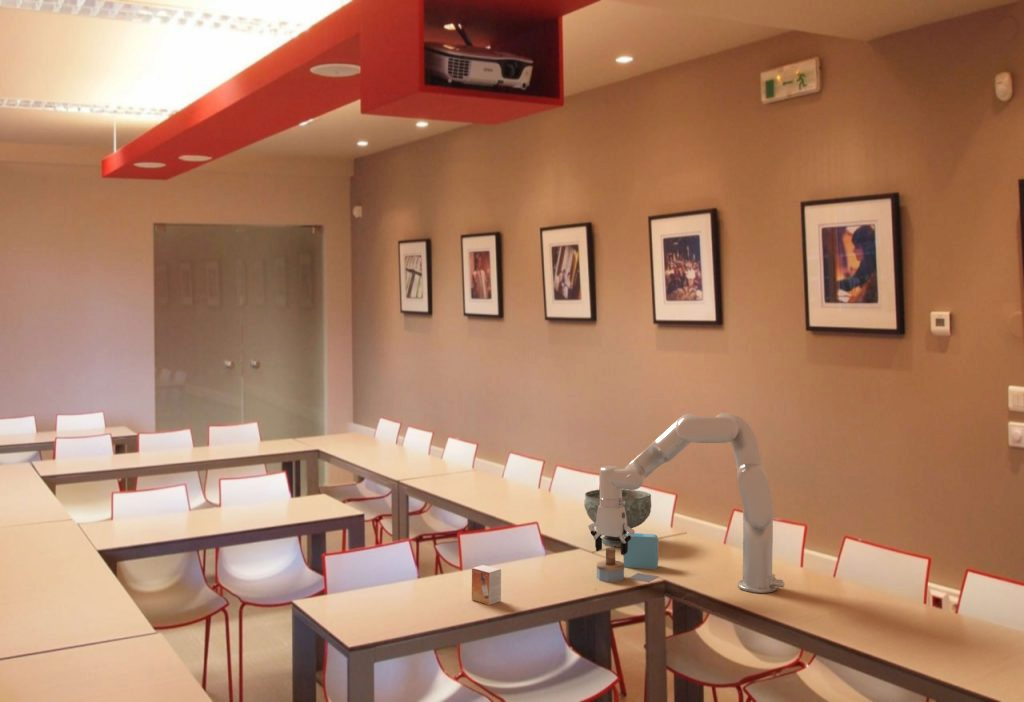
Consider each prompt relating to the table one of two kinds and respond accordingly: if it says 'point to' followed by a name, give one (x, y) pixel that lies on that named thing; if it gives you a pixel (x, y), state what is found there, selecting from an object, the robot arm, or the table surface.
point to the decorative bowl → (634, 507)
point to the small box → (486, 584)
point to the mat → (643, 577)
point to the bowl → (610, 575)
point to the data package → (642, 551)
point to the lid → (610, 562)
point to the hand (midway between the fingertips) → (611, 552)
